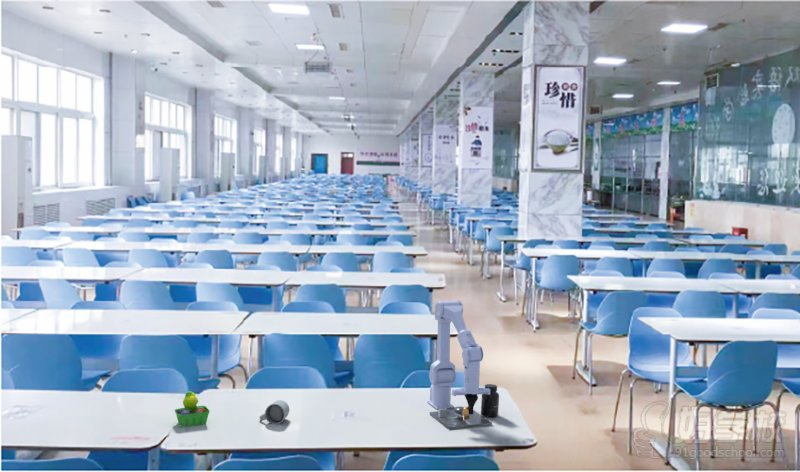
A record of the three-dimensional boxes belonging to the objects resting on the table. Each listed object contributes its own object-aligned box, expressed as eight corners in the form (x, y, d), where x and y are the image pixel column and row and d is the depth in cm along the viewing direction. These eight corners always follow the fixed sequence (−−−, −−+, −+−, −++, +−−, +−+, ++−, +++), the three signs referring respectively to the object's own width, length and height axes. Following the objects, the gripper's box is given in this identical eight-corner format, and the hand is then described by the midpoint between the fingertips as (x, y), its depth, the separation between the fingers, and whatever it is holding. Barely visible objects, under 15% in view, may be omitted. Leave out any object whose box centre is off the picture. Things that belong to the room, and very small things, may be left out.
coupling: (452, 410, 301) (453, 400, 300) (464, 410, 302) (465, 400, 302) (460, 419, 291) (461, 409, 290) (473, 419, 292) (473, 408, 291)
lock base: (429, 414, 304) (430, 404, 304) (471, 410, 311) (471, 401, 311) (448, 429, 288) (449, 419, 287) (492, 425, 294) (492, 415, 294)
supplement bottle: (497, 419, 302) (498, 388, 301) (479, 417, 303) (481, 387, 302) (498, 413, 309) (500, 384, 307) (481, 411, 310) (482, 382, 309)
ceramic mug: (290, 418, 295) (290, 398, 294) (284, 425, 287) (284, 404, 286) (263, 416, 296) (263, 397, 296) (256, 423, 288) (256, 403, 287)
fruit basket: (178, 428, 279) (178, 398, 278) (173, 421, 287) (173, 391, 286) (210, 425, 285) (210, 394, 284) (204, 417, 293) (204, 388, 291)
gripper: (456, 381, 286) (455, 417, 287) (493, 380, 289) (492, 415, 290) (450, 376, 292) (449, 411, 294) (487, 375, 296) (485, 410, 297)
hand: (470, 413), depth 292 cm, fingers closed, pressing on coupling
